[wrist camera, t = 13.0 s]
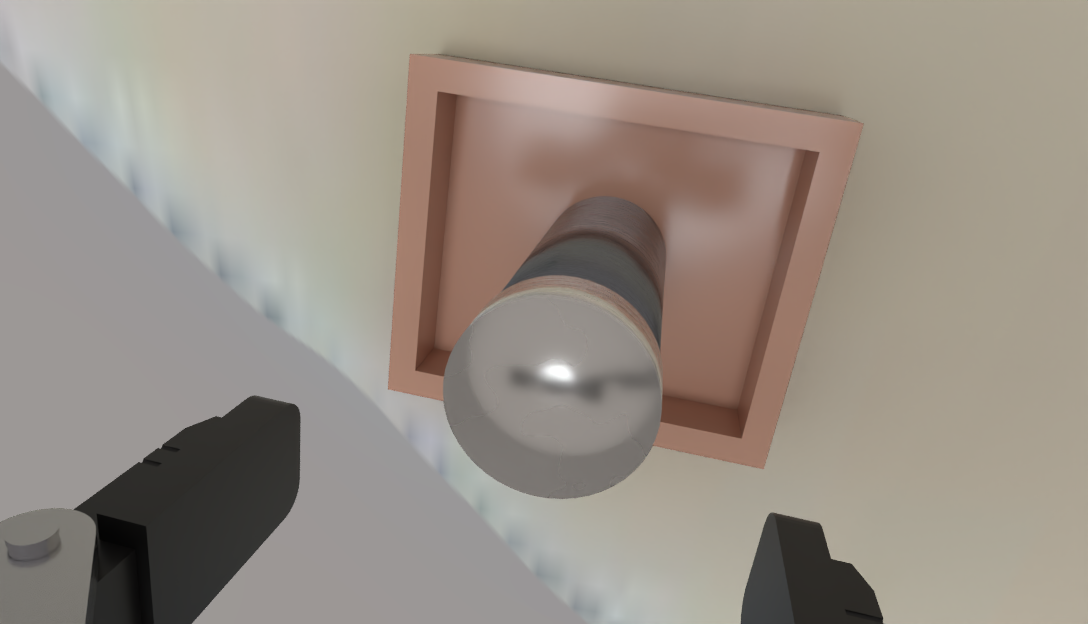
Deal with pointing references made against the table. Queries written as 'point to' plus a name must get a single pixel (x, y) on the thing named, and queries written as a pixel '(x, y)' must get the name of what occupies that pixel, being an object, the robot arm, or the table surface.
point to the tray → (646, 180)
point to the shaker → (567, 357)
